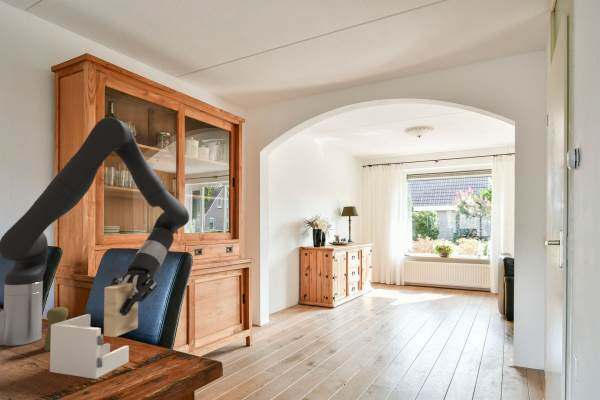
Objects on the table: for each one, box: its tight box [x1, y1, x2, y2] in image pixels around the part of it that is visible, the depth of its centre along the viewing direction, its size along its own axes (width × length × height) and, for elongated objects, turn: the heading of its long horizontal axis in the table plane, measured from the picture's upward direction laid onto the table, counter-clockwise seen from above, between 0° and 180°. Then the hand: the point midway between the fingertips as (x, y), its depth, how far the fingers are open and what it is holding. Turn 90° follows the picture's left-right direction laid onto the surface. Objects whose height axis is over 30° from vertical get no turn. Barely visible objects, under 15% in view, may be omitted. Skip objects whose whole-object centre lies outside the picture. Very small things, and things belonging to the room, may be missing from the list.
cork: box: [43, 306, 69, 352], centre depth 107 cm, size 6×6×11 cm
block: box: [103, 283, 139, 338], centre depth 98 cm, size 8×4×12 cm, turn 163°
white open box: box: [49, 313, 130, 380], centre depth 92 cm, size 10×15×11 cm
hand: (115, 313), depth 96 cm, fingers closed on block, 3 cm apart
